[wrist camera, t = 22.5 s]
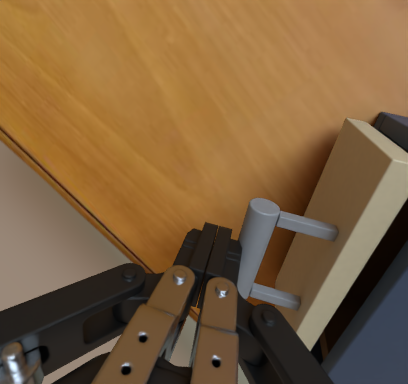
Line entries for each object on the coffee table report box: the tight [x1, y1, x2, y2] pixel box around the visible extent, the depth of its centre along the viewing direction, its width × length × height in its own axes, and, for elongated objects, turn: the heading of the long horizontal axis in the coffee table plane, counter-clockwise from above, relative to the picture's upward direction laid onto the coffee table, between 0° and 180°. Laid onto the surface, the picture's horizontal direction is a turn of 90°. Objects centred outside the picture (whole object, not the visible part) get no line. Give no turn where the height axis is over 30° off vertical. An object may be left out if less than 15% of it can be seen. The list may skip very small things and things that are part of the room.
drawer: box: [237, 118, 408, 361], centre depth 15 cm, size 18×14×7 cm
